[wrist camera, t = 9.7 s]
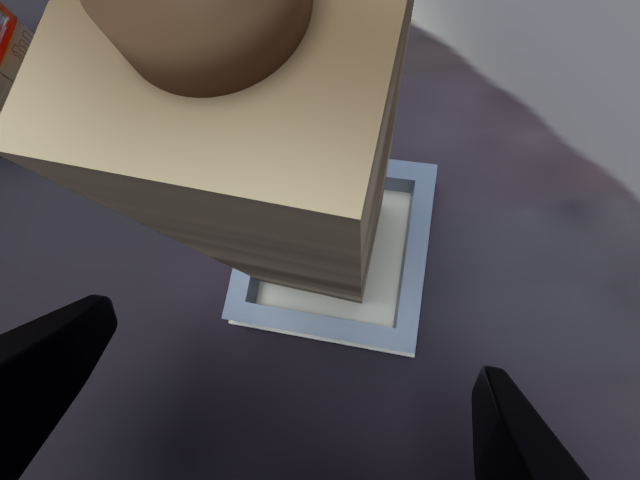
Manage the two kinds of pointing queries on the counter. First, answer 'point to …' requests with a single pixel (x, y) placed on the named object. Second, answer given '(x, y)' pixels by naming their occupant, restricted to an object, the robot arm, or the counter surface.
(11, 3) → the counter surface
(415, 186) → the blue square tray
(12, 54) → the stack of blocks
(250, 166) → the maple pillar block
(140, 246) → the counter surface
